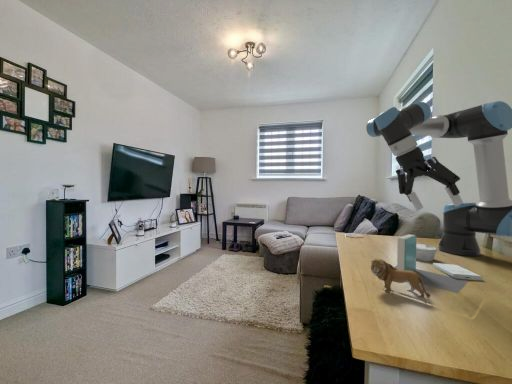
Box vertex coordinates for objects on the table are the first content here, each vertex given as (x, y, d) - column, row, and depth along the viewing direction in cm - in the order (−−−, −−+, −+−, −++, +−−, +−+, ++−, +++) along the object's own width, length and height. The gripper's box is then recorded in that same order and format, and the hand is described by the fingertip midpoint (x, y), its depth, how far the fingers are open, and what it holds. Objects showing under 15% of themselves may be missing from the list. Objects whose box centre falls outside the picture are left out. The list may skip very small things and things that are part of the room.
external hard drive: (457, 269, 88) (482, 281, 75) (432, 267, 89) (453, 278, 77) (457, 264, 88) (482, 275, 75) (432, 262, 89) (453, 273, 77)
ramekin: (443, 262, 96) (443, 249, 96) (415, 262, 96) (415, 249, 96) (424, 255, 107) (424, 243, 107) (398, 254, 107) (399, 243, 107)
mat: (398, 266, 90) (398, 264, 90) (468, 282, 75) (468, 281, 75) (382, 274, 82) (382, 272, 82) (457, 294, 66) (457, 293, 66)
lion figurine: (371, 292, 68) (371, 260, 67) (369, 285, 72) (370, 255, 72) (433, 301, 62) (433, 267, 62) (427, 293, 67) (427, 261, 67)
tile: (408, 268, 86) (408, 234, 86) (415, 270, 84) (416, 235, 84) (397, 274, 80) (397, 237, 80) (405, 276, 78) (406, 239, 78)
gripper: (372, 166, 91) (400, 215, 90) (433, 141, 67) (472, 208, 66) (386, 158, 93) (413, 206, 92) (450, 132, 69) (487, 196, 68)
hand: (438, 207), depth 79 cm, fingers open, 13 cm apart
